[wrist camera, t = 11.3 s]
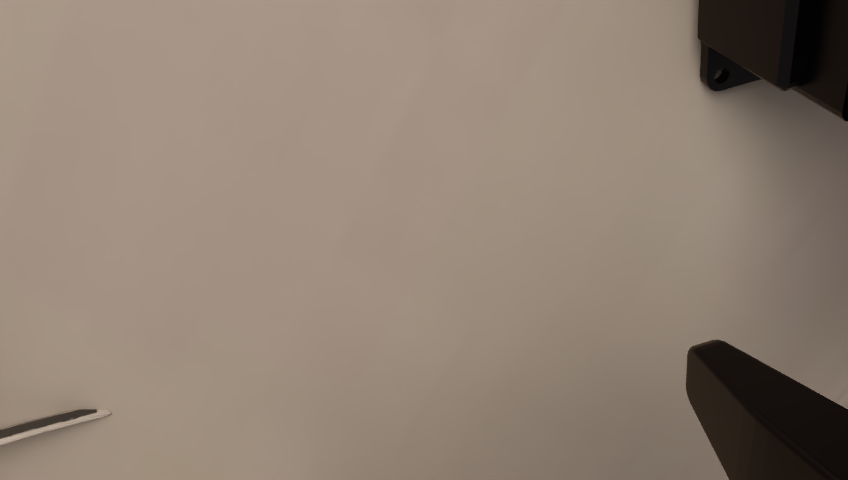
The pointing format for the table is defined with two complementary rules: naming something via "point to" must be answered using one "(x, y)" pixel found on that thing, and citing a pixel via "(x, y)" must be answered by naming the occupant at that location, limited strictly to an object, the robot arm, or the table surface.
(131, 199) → the table surface
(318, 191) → the table surface
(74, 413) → the sunglasses
